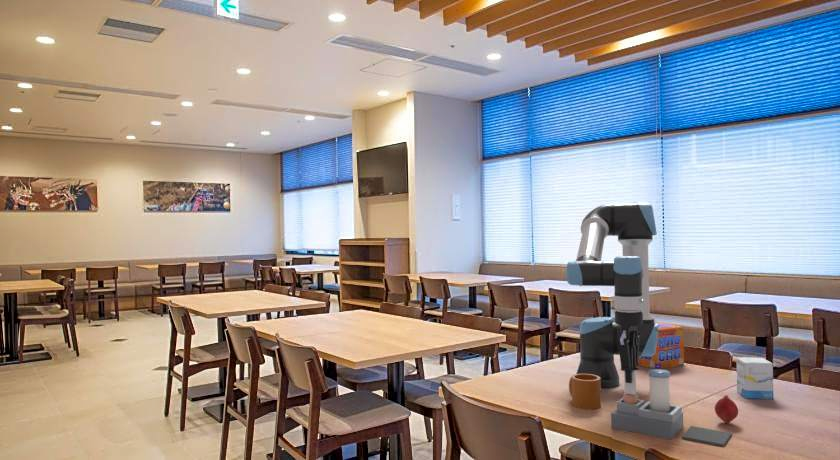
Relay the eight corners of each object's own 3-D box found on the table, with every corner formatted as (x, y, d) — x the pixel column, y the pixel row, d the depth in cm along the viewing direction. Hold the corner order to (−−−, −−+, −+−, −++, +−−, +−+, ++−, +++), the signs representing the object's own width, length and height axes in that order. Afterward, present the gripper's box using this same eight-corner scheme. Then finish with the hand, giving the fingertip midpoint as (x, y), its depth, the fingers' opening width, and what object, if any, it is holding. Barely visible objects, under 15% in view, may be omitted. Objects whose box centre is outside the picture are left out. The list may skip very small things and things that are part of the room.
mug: (586, 397, 191) (586, 370, 191) (606, 408, 180) (606, 379, 180) (561, 399, 189) (561, 372, 189) (580, 410, 178) (580, 381, 178)
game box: (654, 357, 248) (654, 321, 248) (684, 365, 233) (683, 326, 233) (626, 361, 241) (625, 324, 242) (655, 369, 227) (654, 329, 227)
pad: (681, 438, 152) (681, 436, 152) (691, 428, 160) (691, 425, 160) (723, 446, 146) (723, 444, 146) (731, 435, 154) (731, 433, 154)
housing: (611, 427, 162) (610, 404, 162) (625, 416, 171) (625, 394, 171) (671, 439, 152) (671, 414, 152) (683, 426, 161) (682, 403, 161)
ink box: (774, 399, 185) (773, 363, 185) (745, 398, 187) (744, 362, 187) (764, 392, 193) (763, 357, 193) (736, 391, 195) (735, 356, 195)
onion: (710, 420, 166) (710, 392, 166) (729, 419, 167) (729, 391, 167) (723, 426, 160) (722, 398, 160) (742, 425, 161) (742, 397, 161)
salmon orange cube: (622, 408, 164) (621, 394, 164) (626, 405, 167) (626, 391, 167) (635, 411, 162) (634, 396, 162) (639, 407, 165) (638, 393, 165)
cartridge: (646, 415, 159) (646, 372, 159) (652, 410, 163) (651, 368, 163) (667, 419, 156) (666, 374, 156) (673, 414, 160) (672, 370, 160)
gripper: (634, 314, 157) (636, 401, 157) (649, 308, 167) (651, 390, 167) (607, 312, 162) (609, 396, 162) (623, 307, 172) (624, 386, 172)
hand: (630, 393), depth 164 cm, fingers closed
